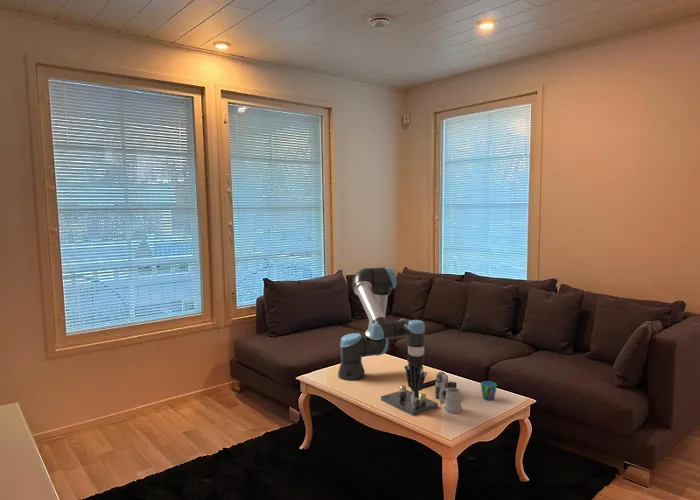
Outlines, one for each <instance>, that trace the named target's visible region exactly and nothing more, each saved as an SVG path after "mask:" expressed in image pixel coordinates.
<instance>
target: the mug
mask: <svg viewBox="0 0 700 500" xmlns="http://www.w3.org/2000/svg"><path fill="white" fill-rule="evenodd" d="M444 391H446V394H445V395H443V392H444ZM444 396H445V398H444ZM461 399H462V395H461V389H460V388H458V387H457V388H445V384H444V382H442V385H441V389H440V392H439V399H438V400H439V402H440V405H444V404H445V405H444V409H445V411H446V413H449V414H459V413H461V411H462V408H463V407H462V404H461V401H462V400H461Z"/></svg>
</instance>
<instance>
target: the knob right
mask: <svg viewBox="0 0 700 500" xmlns="http://www.w3.org/2000/svg"><path fill="white" fill-rule="evenodd" d="M426 398H427V394H426V393H419V398H418V399H417V400H415V408H416V409H419V408H420V404H426Z"/></svg>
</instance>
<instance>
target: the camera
mask: <svg viewBox="0 0 700 500" xmlns="http://www.w3.org/2000/svg"><path fill="white" fill-rule="evenodd" d="M434 382H435V388H434V389H435V393H434V394H435V397H434V398H435V399H436V400H439V392H440V389H441V385H442V382H444V384H445V388H458V387H457V386H458V385H457V382H456V381H455V382H454V381H449V375H448V374H447V373H445V372H444V371H439V372H437V373H436V377H435V379H434ZM445 395H446V391H444V392H443V396H445Z"/></svg>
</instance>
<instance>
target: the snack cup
mask: <svg viewBox="0 0 700 500" xmlns="http://www.w3.org/2000/svg"><path fill="white" fill-rule="evenodd" d="M480 387H481V393H482V398H483V399H484V400H487V401H489V400H490V401H492V400H495V397H496V391H497V387H498V385H497V383H496V382H494V381H490V380H489V381H487V380H486V381H485V380H484V381H482V382H480Z"/></svg>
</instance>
